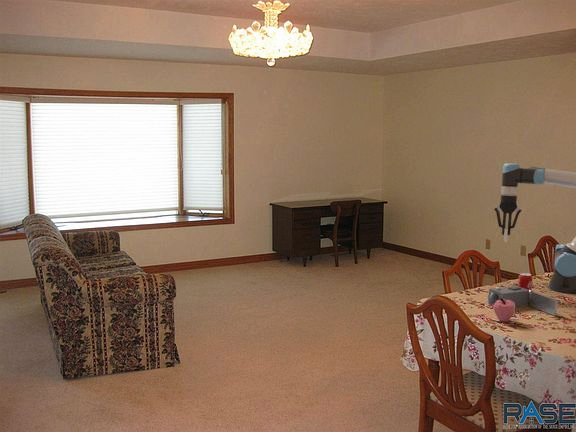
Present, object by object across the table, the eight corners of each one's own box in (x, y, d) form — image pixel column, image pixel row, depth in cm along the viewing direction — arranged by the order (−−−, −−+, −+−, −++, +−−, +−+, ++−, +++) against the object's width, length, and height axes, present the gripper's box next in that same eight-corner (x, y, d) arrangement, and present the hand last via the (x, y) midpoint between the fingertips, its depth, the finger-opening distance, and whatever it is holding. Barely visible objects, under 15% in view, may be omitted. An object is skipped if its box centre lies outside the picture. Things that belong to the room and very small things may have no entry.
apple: (511, 325, 256) (513, 302, 254) (490, 321, 260) (492, 298, 259) (516, 319, 264) (518, 297, 262) (495, 315, 268) (497, 293, 267)
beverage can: (531, 300, 293) (533, 276, 291) (517, 299, 294) (519, 275, 292) (529, 297, 299) (531, 273, 297) (515, 296, 300) (517, 272, 298)
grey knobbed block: (514, 299, 294) (516, 283, 293) (528, 305, 286) (530, 288, 284) (484, 303, 287) (485, 287, 285) (498, 309, 278) (499, 292, 277)
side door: (527, 304, 285) (528, 290, 284) (531, 304, 285) (532, 289, 284) (553, 315, 269) (555, 300, 268) (557, 315, 270) (558, 299, 269)
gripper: (494, 194, 306) (490, 241, 310) (522, 196, 300) (518, 244, 304) (496, 193, 313) (493, 238, 316) (523, 194, 307) (520, 241, 311)
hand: (505, 241), depth 310 cm, fingers closed
